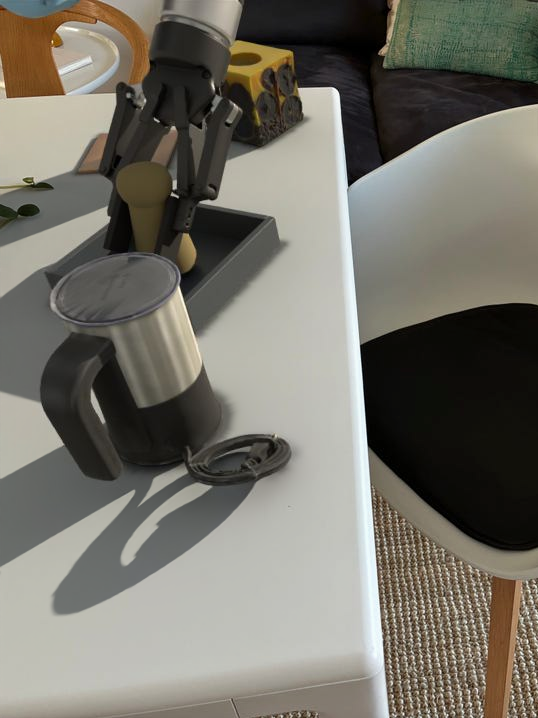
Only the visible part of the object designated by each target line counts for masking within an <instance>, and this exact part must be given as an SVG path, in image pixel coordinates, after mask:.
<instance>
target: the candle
mask: <svg viewBox="0 0 538 718" xmlns="http://www.w3.org/2000/svg"><path fill="white" fill-rule="evenodd" d="M229 50H230V52H231V58H230V62H229V66H228V70H227V74H226V78H225V82H224V83H223V84H222V85H221V86H220V92H221V97H222V98H228V99H229V100H230V101H232V102H233V103H234V104H235V105H237V106H238V107H239V108H241V109H242V111H243V114H242V116H241V118H240V120H239V122H238V123H237V125H236V127H235V128H234V130H233V134H232V138H231V140H234V141H238V142H243V143H246V144H251V145H255V146H257V147H262V146H265V145H267V144H269V143H270V142H272V141H273V140H275V139H276V138H278V137H279V136H281V135H282V134H284V133H285V132H287V131H288V130H291V128H292V127H294V126H296V125H298V124H299V123H300V122H302V121H303V120H304V118H305V117H304V116H305V114H304V112H303V102H302V99H301V95H300V92H299V87H298V82H297V80H298V76H297V74H296V70H295V62H294V52H293V51H291V50H287V49H283V48H276V47H273V46H267V45H262V44H257V43H253V42H248V41H243V40H235V41H234V45H233V46H232V47H230V48H229ZM211 116H212V112H211V113H210V114H209V115H208V116H207V117H206V118H205V127H206V130H207V129H208V125H209V121H210V118H211Z"/></svg>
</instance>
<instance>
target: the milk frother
mask: <svg viewBox="0 0 538 718" xmlns="http://www.w3.org/2000/svg"><path fill="white" fill-rule="evenodd" d="M180 279H181V278H180V272H179V270H178V268H177V266H176V265H175V264H174V263H172V262H171V261H170V260H168V259H166V258H164V257H161V256H158V255H156V254H152V253H137V252H134V253H123V254H116V255H110V256H106V257H103V258H99V259H95V260H93V261H91V262H88V263H86V264H84V265H82V266H79V267H77V268H76V269H74V270H73V271H71V272H70V273H69V274H67V275H65V276H64V277H63V278H62V279H61V280H60V281H59V282H58V283H57V284H56V285H55V287H54V288H53V290H52V289H51V290H50V294H49V299H48V301H49V308H50V310H51V311H52V313H53V314H54V315H55V316H56V317H58V318H59V319H60V320H61V321H62V324H63V326H64V328H65V330H66V334H67V335H68V336H67V337H66V338H65V339H64V340H63V342H61V343H60V344H59V345H58V347H57V348H55V350H54V351H53V352H52V354H51V355H50V357H49V358H48V359H47V361H46V363H45V365H44V367H43V371H42V374H41V376H40V377H41V378H40V383H39V398H40V402H41V407H42V410H43V412H44V414H45V415H46V418H47V419H48V421H49V422H50V425H52V427H53V429H54V430H55V432H56V433H57V435H58V437H59V438H60V440H61V442H62V444H63V446H64V447H65V448H66V450H67V451H68V453H69V454H70V456H71V457H72V459H73V460H74V462H75V463H76V465H77V467H78V469H79V470H80V471H81V473H82V474H83V475H84V476H85V477H87V478H90V479H93V480H97V481H104V482H112V481H115V480H118V479H119V477H120V476H121V475H122V473H123V471H124V466H123V462H122V460H121V458H122V459H124V460H125V461H126V462H130V463H134V464H137V465H141V466H163V465H169V464H173V463H174V462H179V461H182V460H183V461H184V466H185V468H186V471H187V473H188V475H189V476H190V479H192V480H193V481H194V482H195V483H199V484H201V485H205V486H209V487H230V486H238V485H243V484H248V483H252V482H255V481H259V480H261V479H264V478H266V477H269V476H271V475H273V474H275V473H277V472H278V471H280V470H281V469H283V468H284V467H286V466H287V464H288V463H289V461H290V460H291V458H292V448H291V445H290V443H289V442H288V441H286V440H285V439H284V438H282V437H279V436H277V435H278V434H277V433H275V432H272V433H271V434H264V433H249V434H242V435H238V436H234V437H230V438H227V439H223V440H222V441H220V442H217V443H215V444H213V445H211V446H208V447H207V448H206V449H204V447H205V446H207V445H209V443H210V442H211V441H212V440H213V439H214V438H215V437H216V435H217V434H218V433H219V431H220V428H221V426H222V423H223V420H224V412H223V407H222V404H221V403H220V401H219V400H218V399H217V398H216V396H215V393H214V389H213V388H212V385H211V382H210V379H209V377H208V374H207V371H206V367H205V365H204V361H203V358H202V354H201V352H200V349H199V345H198V341H197V339H196V334H194V332H193V329H192V325H191V322H190V319H189V316H188V313H187V309H186V306H185V303H184V300H183V296H182V293H181V290H180V287H179V283H180ZM92 393H93V395H94V397H95V399H96V401H97V403H98V406H99V409H100V411H101V412H100V413H101V414H102V416H103V419H104V422H105V424H106V427H107V431H108V433H109V435H108V433H107V431H106V427H105V426H104V424H103V422H102V420H101V418H100V416H99V415H98V412H97V411H96V409H95V407H94V404H93V403H92ZM247 447H250V449H249V452H248V453H247V454H246V455H245V458H244V460H245V461H244V462H242V463H241V464H240V468H238V469H230V470H215V469H213V468H210V467H209V465H210V464H211V462H213V461H214V460H215V459H217V458H219V457H220V456H223V455H225V454H227V453H229V452H232V451H235V450H238V449H239V450H240V449H242V448H247ZM202 449H204V450H202ZM201 450H202V451H201ZM199 451H201V452H200V453H199V454H197V455H196V456H195V457H194V459H193V458H192V457H193V455H194V454H196V453H198V452H199Z"/></svg>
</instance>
